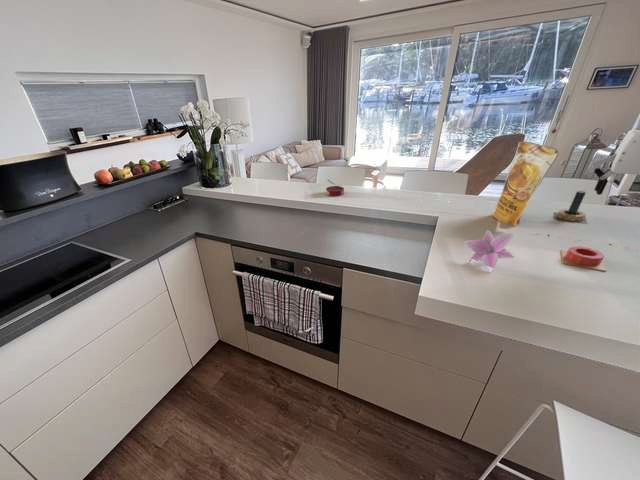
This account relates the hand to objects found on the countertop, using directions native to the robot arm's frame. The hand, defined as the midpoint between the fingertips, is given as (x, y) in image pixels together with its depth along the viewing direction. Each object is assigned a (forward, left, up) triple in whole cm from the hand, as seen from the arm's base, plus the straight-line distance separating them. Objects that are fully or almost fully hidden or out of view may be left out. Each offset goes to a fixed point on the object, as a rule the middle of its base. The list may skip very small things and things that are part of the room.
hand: (623, 195), depth 77 cm
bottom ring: (+4, -29, -18) cm, 34 cm away
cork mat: (+2, +5, -19) cm, 19 cm away
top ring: (+2, +5, -18) cm, 19 cm away
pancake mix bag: (+22, -20, -19) cm, 35 cm away
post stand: (+4, -29, -19) cm, 35 cm away
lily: (+25, +19, -19) cm, 36 cm away
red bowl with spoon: (+101, -27, -19) cm, 106 cm away
